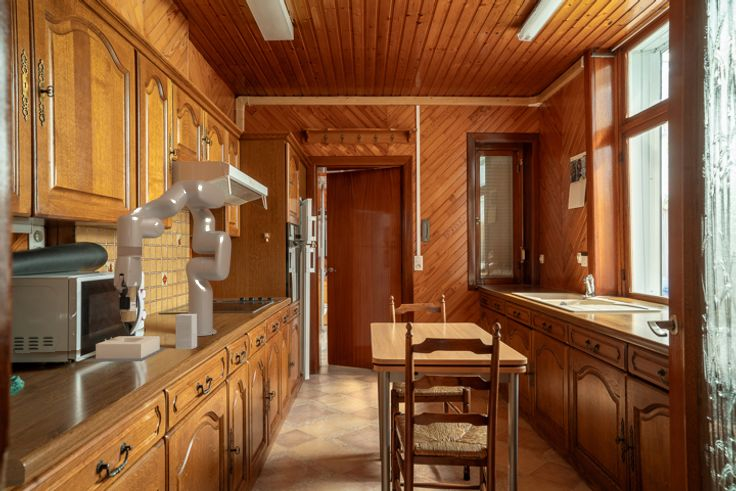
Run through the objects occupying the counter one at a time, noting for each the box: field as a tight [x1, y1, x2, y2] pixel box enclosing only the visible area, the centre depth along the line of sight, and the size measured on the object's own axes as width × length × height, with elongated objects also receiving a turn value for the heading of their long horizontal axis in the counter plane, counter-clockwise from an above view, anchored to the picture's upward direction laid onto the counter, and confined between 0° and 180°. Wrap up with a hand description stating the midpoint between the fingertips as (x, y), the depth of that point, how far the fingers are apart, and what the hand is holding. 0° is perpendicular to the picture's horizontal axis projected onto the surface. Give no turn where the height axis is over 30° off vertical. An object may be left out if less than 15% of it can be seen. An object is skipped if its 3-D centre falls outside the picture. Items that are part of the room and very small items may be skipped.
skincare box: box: [175, 313, 198, 350], centre depth 167 cm, size 6×4×12 cm
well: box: [95, 335, 161, 359], centre depth 156 cm, size 14×14×4 cm
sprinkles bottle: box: [120, 282, 137, 323], centre depth 156 cm, size 5×5×13 cm
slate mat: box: [82, 347, 169, 363], centre depth 155 cm, size 20×18×1 cm
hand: (128, 308), depth 156 cm, fingers closed on sprinkles bottle, 4 cm apart
